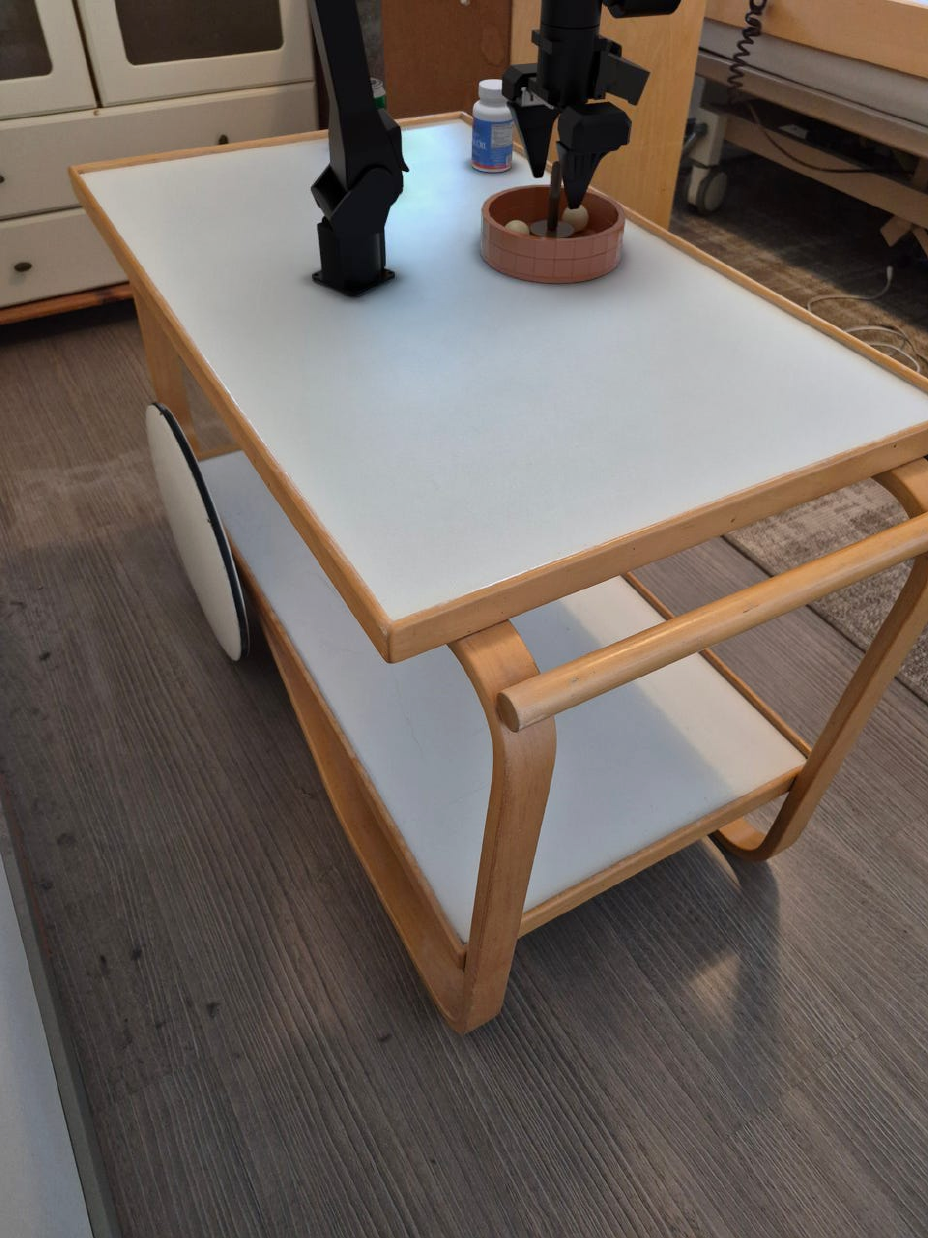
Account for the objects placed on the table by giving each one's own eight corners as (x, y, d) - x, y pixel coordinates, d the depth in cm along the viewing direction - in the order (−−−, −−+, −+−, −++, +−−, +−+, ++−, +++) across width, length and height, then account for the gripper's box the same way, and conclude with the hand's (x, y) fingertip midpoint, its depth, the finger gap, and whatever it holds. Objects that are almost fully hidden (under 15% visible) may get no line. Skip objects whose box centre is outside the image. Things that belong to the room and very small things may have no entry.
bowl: (566, 297, 94) (571, 254, 90) (452, 254, 100) (452, 212, 97) (646, 249, 102) (653, 209, 99) (535, 212, 109) (538, 173, 106)
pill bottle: (464, 161, 121) (465, 79, 114) (500, 156, 122) (503, 75, 115) (482, 175, 117) (484, 91, 110) (519, 170, 119) (523, 86, 112)
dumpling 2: (578, 230, 101) (581, 201, 100) (555, 230, 103) (558, 201, 102) (591, 234, 103) (594, 205, 103) (569, 234, 105) (572, 206, 104)
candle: (329, 139, 126) (314, -36, 112) (379, 134, 128) (371, -39, 113) (343, 157, 121) (330, -23, 107) (396, 151, 123) (390, -27, 108)
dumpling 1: (510, 257, 99) (522, 233, 97) (492, 239, 100) (503, 215, 97) (527, 253, 101) (539, 229, 99) (510, 236, 102) (521, 212, 99)
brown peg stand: (555, 260, 98) (563, 173, 92) (519, 247, 100) (524, 161, 94) (581, 245, 101) (591, 160, 95) (545, 233, 103) (552, 149, 97)
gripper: (694, 40, 81) (664, 216, 93) (602, -6, 94) (585, 155, 105) (583, 49, 79) (565, 230, 90) (503, 1, 91) (496, 165, 102)
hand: (555, 192), depth 97 cm, fingers open, 9 cm apart
